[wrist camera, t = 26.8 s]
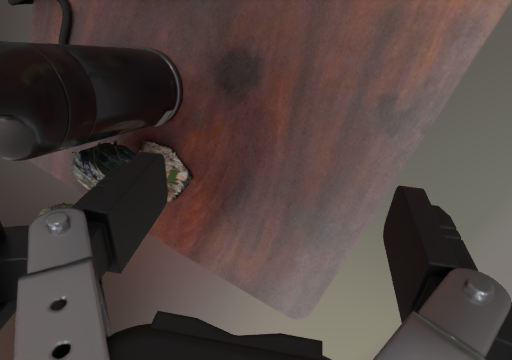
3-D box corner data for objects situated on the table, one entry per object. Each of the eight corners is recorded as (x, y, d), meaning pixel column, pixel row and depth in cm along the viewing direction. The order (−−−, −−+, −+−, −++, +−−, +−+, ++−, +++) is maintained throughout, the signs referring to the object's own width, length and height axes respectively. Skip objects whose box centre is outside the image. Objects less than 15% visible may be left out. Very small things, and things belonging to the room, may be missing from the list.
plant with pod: (148, 113, 46) (-5, 145, 28) (201, 181, 46) (84, 256, 28) (114, 148, 49) (-40, 197, 31) (164, 211, 50) (40, 294, 32)
